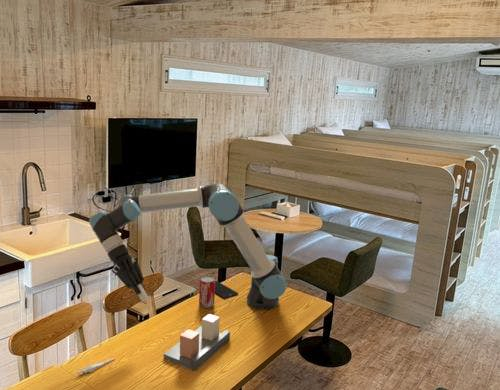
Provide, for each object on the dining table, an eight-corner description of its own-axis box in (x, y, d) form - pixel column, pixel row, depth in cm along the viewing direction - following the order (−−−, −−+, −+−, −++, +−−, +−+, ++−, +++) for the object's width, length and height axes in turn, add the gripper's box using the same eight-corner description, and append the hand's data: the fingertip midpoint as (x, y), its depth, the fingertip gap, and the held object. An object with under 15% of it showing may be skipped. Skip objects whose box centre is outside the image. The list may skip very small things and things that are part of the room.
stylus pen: (78, 378, 154) (78, 373, 154) (74, 375, 156) (74, 370, 156) (117, 362, 165) (117, 357, 165) (113, 359, 167) (113, 354, 167)
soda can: (205, 300, 215) (206, 274, 212) (217, 304, 211) (218, 278, 208) (195, 305, 209) (196, 279, 206) (207, 310, 205) (208, 283, 202)
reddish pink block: (179, 354, 167) (180, 335, 165) (187, 348, 171) (188, 329, 169) (190, 359, 164) (191, 339, 163) (198, 352, 169) (199, 333, 167)
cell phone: (224, 299, 217) (224, 298, 216) (202, 286, 230) (202, 284, 229) (238, 295, 222) (238, 293, 222) (216, 282, 235) (216, 280, 235)
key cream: (201, 337, 179) (202, 318, 177) (208, 331, 183) (209, 313, 181) (212, 341, 176) (212, 322, 175) (219, 335, 181) (219, 317, 179)
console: (163, 358, 168) (163, 349, 167) (200, 330, 188) (200, 321, 187) (194, 371, 161) (195, 361, 160) (229, 340, 182) (230, 331, 181)
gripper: (121, 248, 187) (150, 297, 185) (97, 257, 176) (128, 310, 173) (132, 239, 183) (162, 290, 181) (108, 248, 172) (140, 302, 170)
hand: (145, 300), depth 177 cm, fingers closed
